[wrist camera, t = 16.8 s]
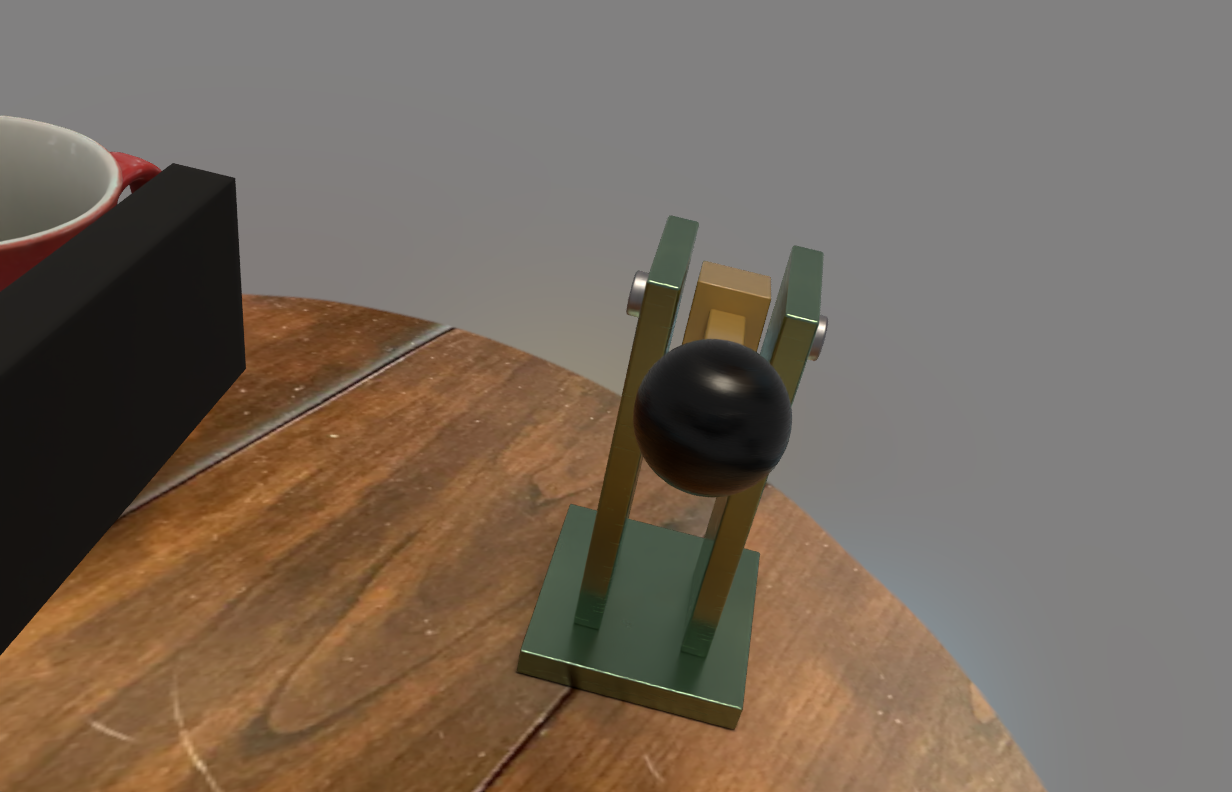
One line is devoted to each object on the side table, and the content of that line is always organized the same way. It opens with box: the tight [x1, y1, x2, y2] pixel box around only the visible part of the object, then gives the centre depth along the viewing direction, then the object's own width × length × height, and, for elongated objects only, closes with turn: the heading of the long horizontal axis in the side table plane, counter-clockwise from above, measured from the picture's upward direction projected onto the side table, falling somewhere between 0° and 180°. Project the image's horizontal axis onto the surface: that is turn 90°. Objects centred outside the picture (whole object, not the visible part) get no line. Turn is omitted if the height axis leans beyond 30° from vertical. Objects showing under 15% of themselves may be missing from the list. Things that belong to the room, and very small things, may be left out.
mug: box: [0, 116, 162, 292], centre depth 38 cm, size 13×9×14 cm
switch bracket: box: [517, 216, 828, 729], centre depth 36 cm, size 8×8×16 cm
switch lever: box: [633, 261, 792, 497], centre depth 28 cm, size 12×4×4 cm, turn 169°
